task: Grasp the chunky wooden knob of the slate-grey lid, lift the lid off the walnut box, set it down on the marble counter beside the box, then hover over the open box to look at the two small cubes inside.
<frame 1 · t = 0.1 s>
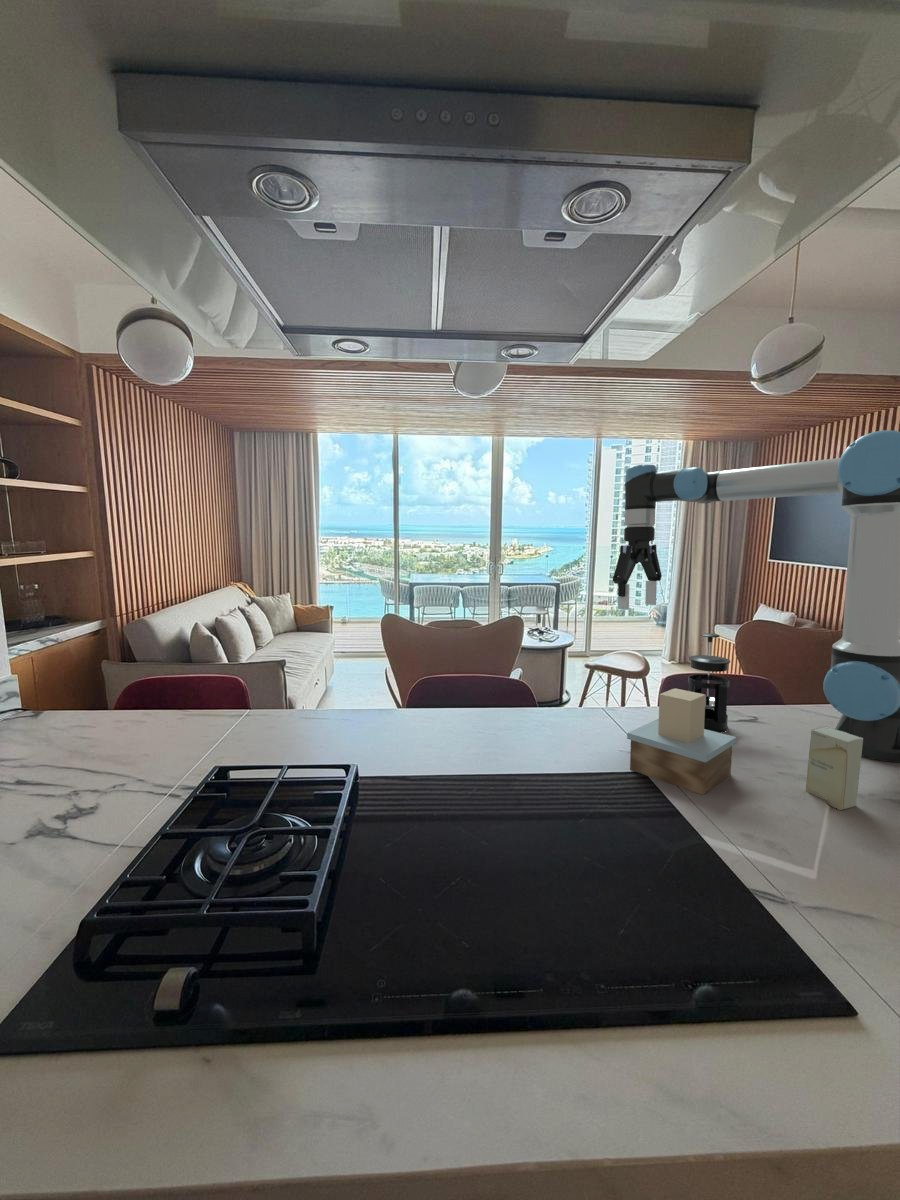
hand: (637, 607, 138), 28 cm above the worktop, tool pointing down, fingers open, 13 cm apart
french press: (707, 728, 127), on the worktop
cube cream: (662, 766, 103), point 1 cm above the worktop, touching box
lid: (680, 741, 100), point 7 cm above the worktop, touching box
cube terracotta: (695, 777, 98), point 1 cm above the worktop, touching box
box: (679, 775, 101), on the worktop
skincare box: (831, 801, 90), on the worktop
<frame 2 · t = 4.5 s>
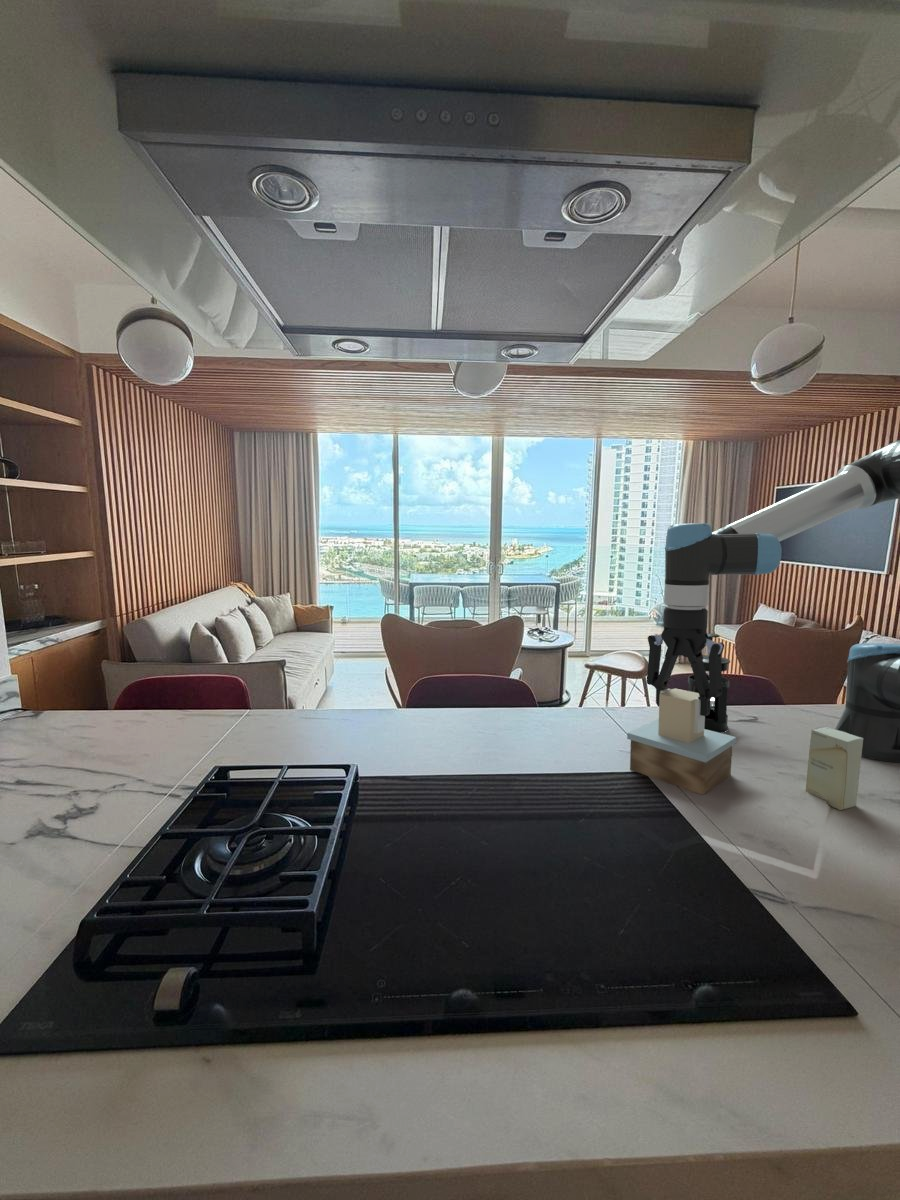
hand: (681, 726, 99), 10 cm above the worktop, tool pointing down, fingers closed on lid, 6 cm apart
lid: (680, 740, 100), point 7 cm above the worktop, touching box, gripper
everything else where it was.
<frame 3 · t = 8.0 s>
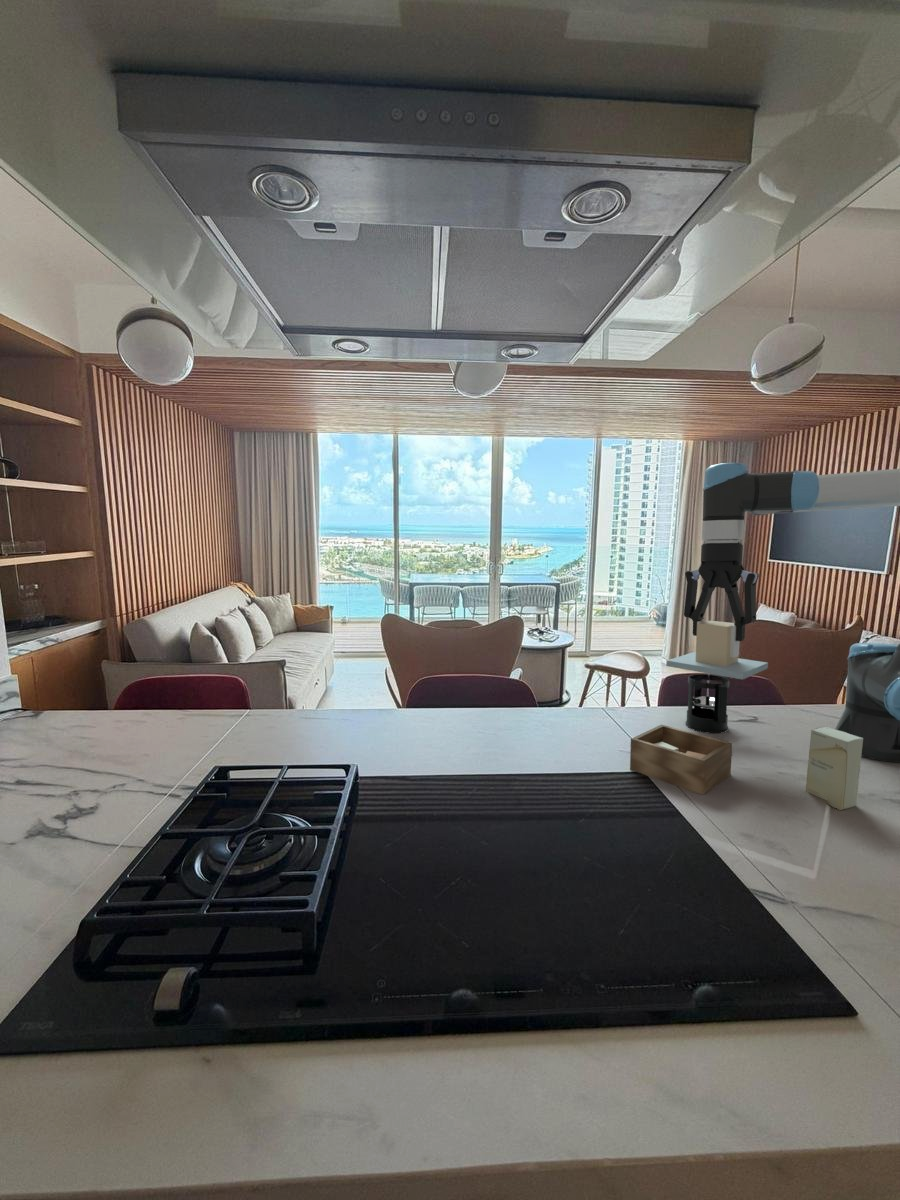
hand: (717, 653, 108), 22 cm above the worktop, tool pointing down, fingers closed on lid, 6 cm apart
lid: (716, 667, 108), point 19 cm above the worktop, touching gripper
everything else where it was.
when the fingers open (4 cm above the worktop, at t = 11.7 s): lid drops 2 cm, on the worktop.
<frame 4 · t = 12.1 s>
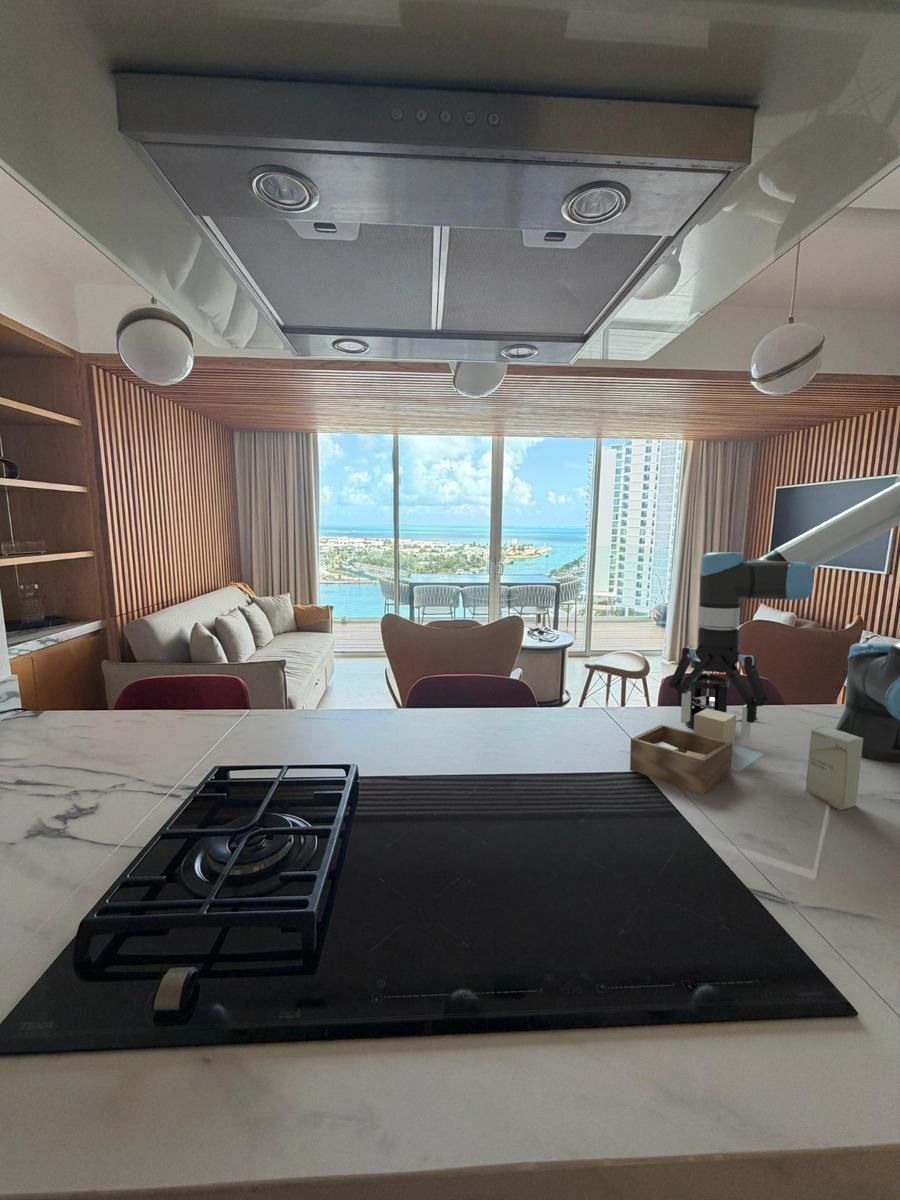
hand: (714, 728, 110), 6 cm above the worktop, tool pointing down, fingers open, 11 cm apart
lid: (713, 756, 110), on the worktop
everything else where it was.
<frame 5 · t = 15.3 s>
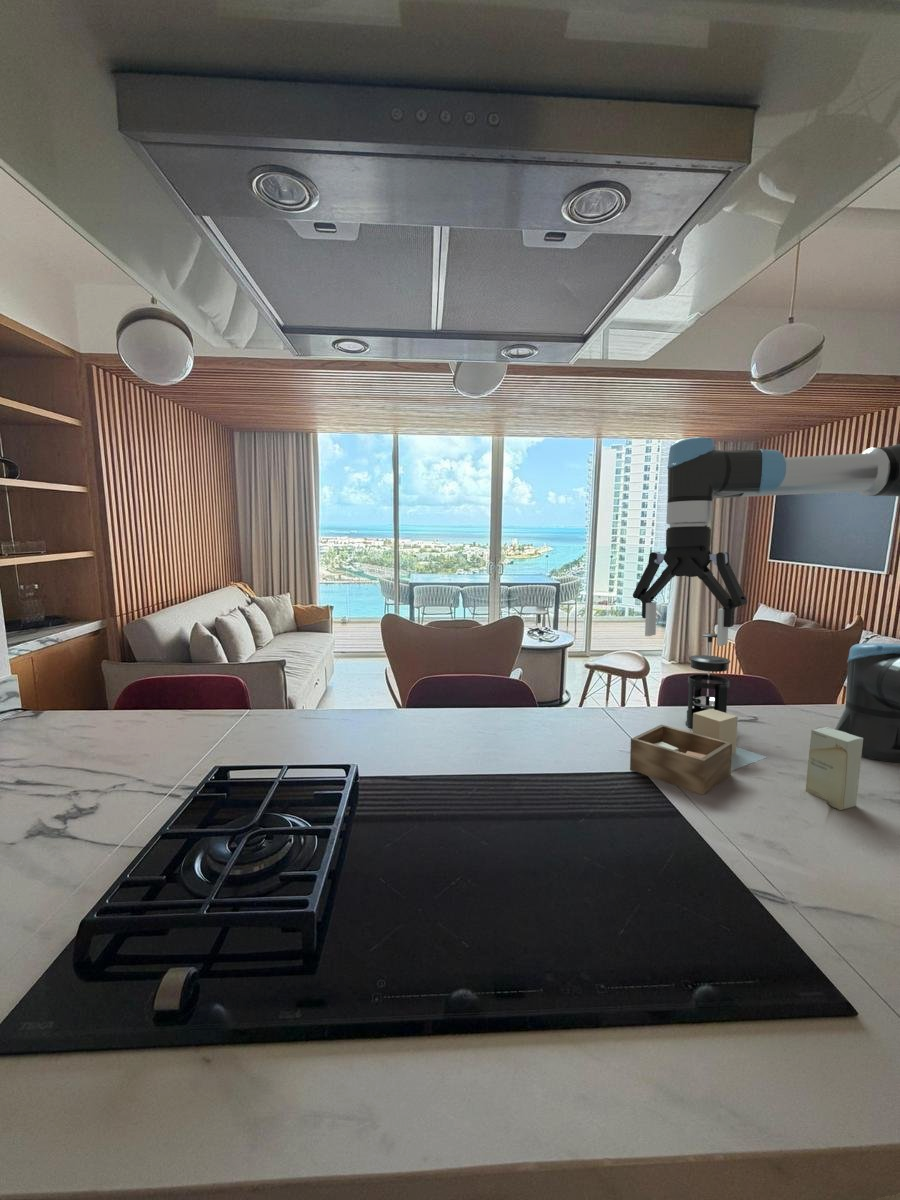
hand: (684, 640, 98), 27 cm above the worktop, tool pointing down, fingers open, 13 cm apart
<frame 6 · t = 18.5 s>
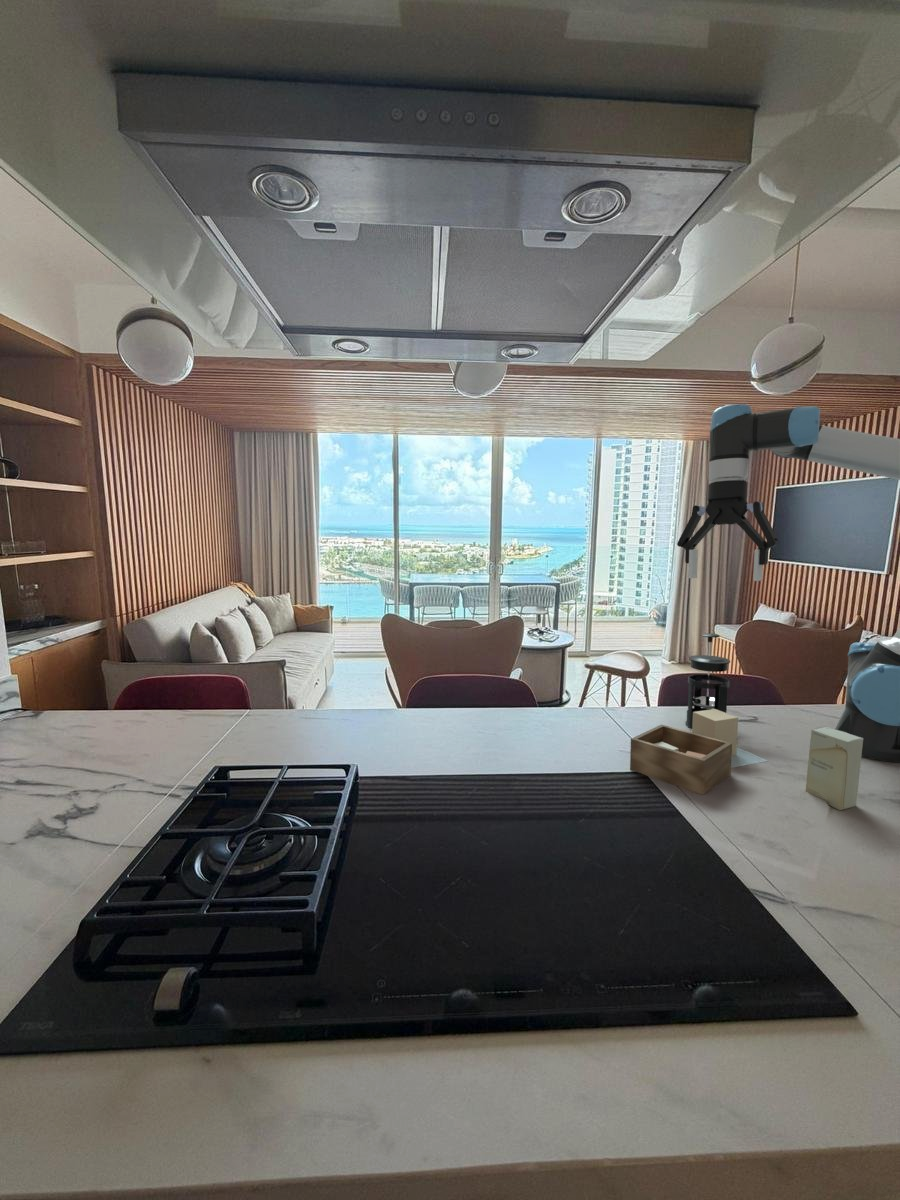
hand: (723, 579, 114), 37 cm above the worktop, tool pointing down, fingers open, 13 cm apart
at the end: lid inside the target area (0.0 cm from its centre), on the worktop; lid touching worktop; the gripper is holding nothing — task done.
